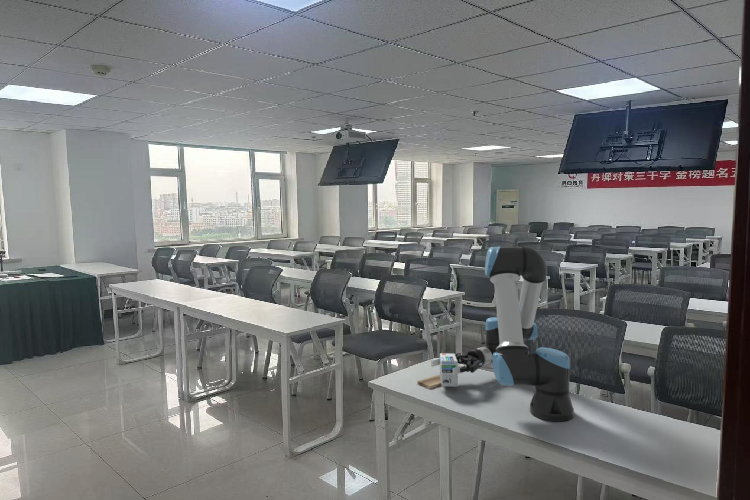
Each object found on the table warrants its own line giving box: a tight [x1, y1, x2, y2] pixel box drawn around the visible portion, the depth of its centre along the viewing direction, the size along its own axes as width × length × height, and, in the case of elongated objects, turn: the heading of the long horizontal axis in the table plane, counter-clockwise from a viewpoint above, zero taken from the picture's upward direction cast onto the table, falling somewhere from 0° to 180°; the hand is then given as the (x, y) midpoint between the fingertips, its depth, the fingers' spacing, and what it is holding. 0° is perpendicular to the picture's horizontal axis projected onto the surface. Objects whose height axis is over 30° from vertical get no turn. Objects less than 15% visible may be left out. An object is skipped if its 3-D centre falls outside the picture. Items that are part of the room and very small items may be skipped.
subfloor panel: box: [417, 374, 442, 390], centre depth 213 cm, size 8×14×1 cm, turn 125°
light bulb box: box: [439, 352, 459, 387], centre depth 206 cm, size 11×7×11 cm, turn 177°
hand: (442, 367), depth 204 cm, fingers closed on light bulb box, 12 cm apart
